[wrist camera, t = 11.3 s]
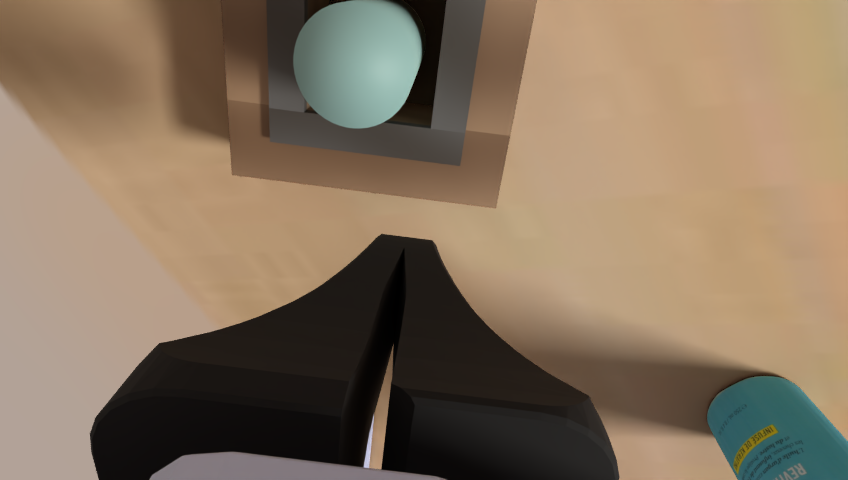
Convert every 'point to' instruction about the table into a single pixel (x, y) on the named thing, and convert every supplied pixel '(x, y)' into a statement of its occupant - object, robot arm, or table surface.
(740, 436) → the tube
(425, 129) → the socket
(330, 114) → the peg
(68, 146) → the table surface
